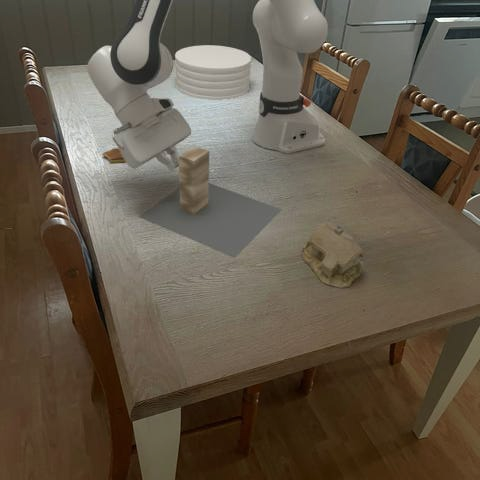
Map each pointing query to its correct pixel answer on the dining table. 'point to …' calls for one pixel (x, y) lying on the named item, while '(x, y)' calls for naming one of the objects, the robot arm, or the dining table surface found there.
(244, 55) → the plate stack
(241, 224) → the rubber mat
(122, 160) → the shard
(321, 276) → the ceramic model
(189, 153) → the birch block
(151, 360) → the dining table surface
